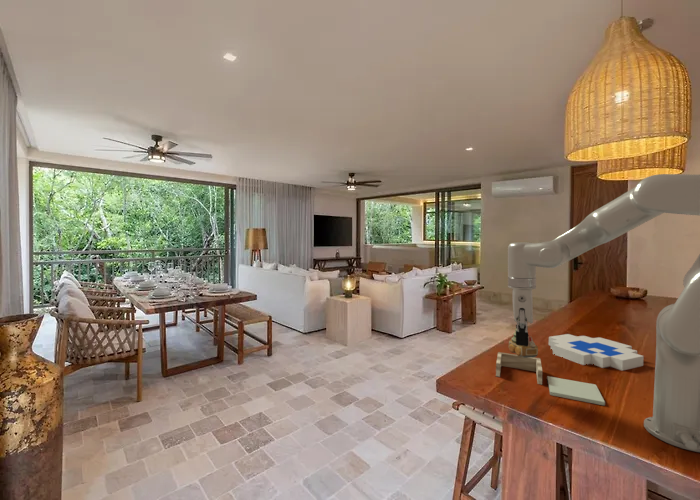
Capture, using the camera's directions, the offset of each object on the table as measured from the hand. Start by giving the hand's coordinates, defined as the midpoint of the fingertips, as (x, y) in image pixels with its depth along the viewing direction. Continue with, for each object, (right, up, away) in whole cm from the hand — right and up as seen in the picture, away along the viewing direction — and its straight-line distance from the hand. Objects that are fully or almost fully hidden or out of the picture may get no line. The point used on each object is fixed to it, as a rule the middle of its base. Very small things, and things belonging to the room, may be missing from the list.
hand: (521, 341), depth 99 cm
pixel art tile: (+44, -15, +31) cm, 56 cm away
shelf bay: (+6, -15, +13) cm, 21 cm away
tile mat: (+16, -15, +1) cm, 22 cm away
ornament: (0, -4, 0) cm, 4 cm away
